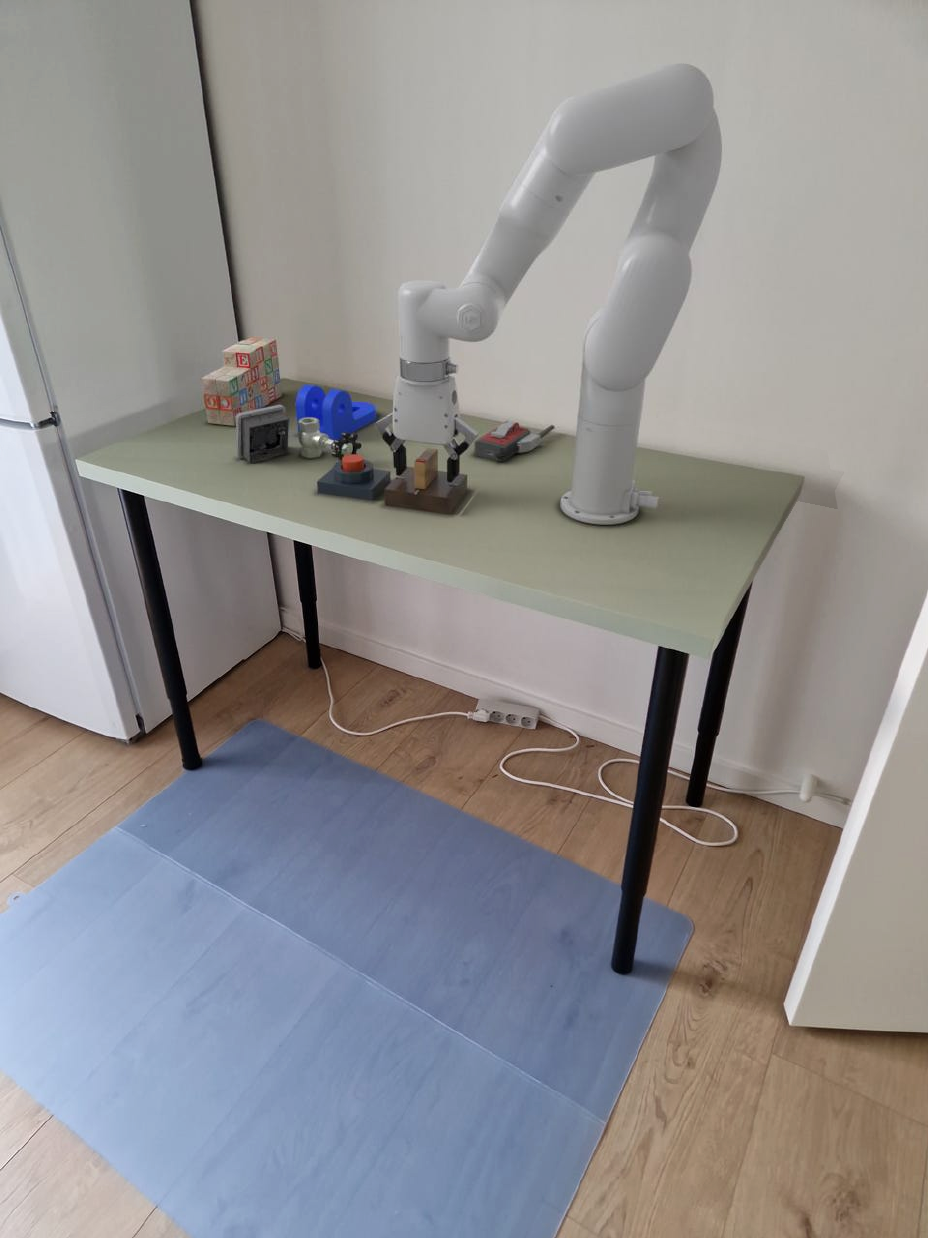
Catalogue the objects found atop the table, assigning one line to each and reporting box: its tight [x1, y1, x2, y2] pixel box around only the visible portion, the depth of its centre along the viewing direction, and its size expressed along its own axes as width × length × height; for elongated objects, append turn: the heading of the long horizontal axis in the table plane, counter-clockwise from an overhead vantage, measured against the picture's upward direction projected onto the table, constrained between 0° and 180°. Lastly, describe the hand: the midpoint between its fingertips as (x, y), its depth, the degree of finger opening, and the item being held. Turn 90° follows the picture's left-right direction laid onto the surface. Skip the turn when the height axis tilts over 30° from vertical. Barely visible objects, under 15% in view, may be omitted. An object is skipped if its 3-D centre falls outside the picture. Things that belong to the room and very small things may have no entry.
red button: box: [342, 453, 365, 471], centre depth 136 cm, size 4×4×2 cm
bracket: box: [295, 384, 377, 441], centre depth 162 cm, size 18×8×9 cm, turn 152°
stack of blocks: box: [201, 337, 283, 427], centre depth 169 cm, size 21×6×12 cm, turn 165°
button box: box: [316, 459, 392, 502], centre depth 137 cm, size 10×8×4 cm
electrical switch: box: [235, 404, 290, 464], centre depth 147 cm, size 9×5×9 cm, turn 128°
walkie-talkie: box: [473, 420, 556, 462], centre depth 154 cm, size 9×4×20 cm
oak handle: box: [413, 447, 439, 489], centre depth 132 cm, size 6×2×5 cm, turn 163°
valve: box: [297, 417, 363, 464], centre depth 147 cm, size 7×7×12 cm
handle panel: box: [383, 466, 468, 516], centre depth 134 cm, size 11×11×3 cm
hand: (426, 475), depth 133 cm, fingers open, 8 cm apart
